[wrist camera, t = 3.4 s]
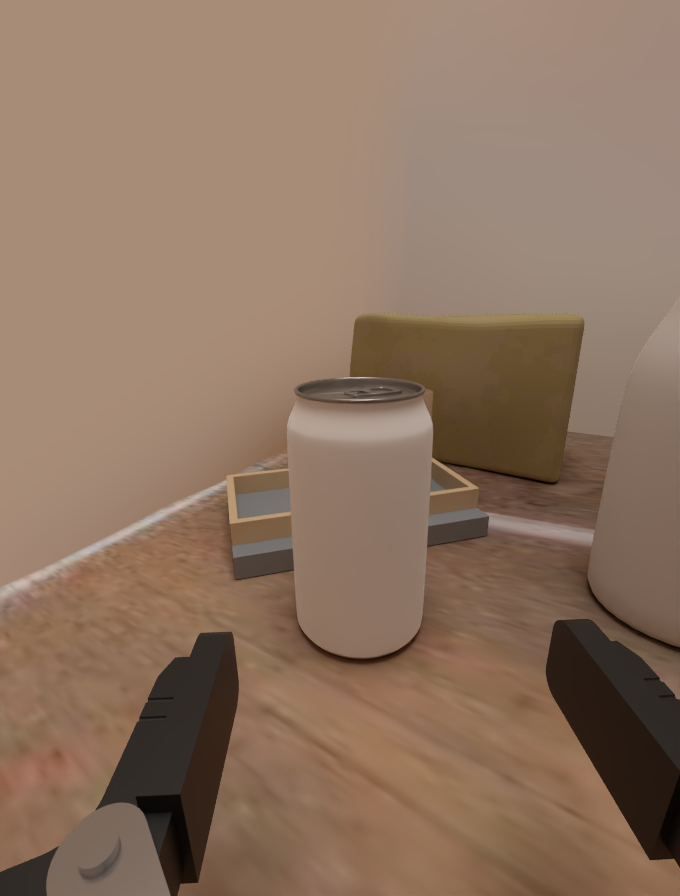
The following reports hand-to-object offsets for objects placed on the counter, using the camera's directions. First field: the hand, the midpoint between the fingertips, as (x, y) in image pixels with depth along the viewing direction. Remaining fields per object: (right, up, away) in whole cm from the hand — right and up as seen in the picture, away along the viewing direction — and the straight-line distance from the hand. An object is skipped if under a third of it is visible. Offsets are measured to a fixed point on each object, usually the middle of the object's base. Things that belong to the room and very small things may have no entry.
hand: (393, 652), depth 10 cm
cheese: (+10, +4, +35) cm, 37 cm away
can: (0, -4, +11) cm, 12 cm away
